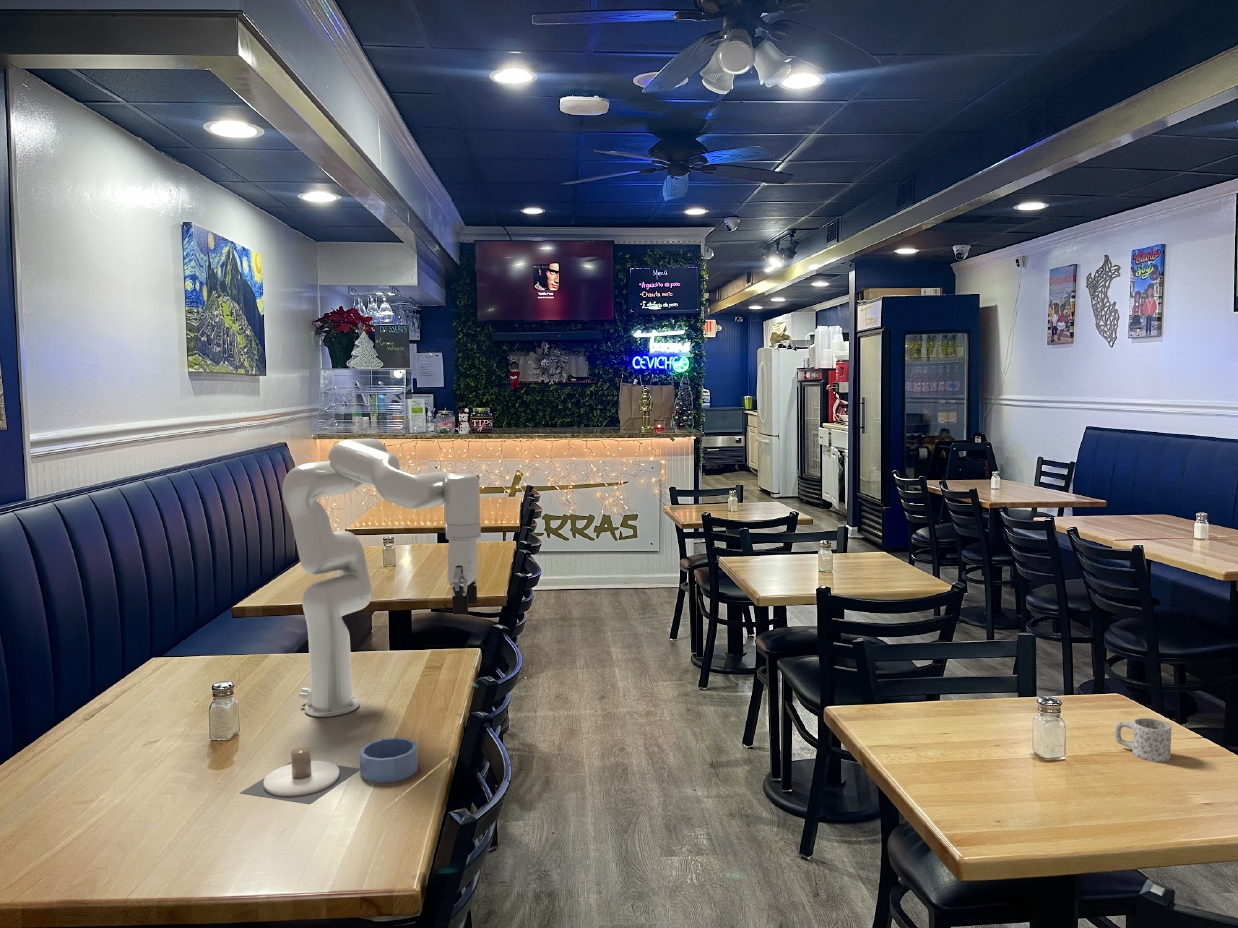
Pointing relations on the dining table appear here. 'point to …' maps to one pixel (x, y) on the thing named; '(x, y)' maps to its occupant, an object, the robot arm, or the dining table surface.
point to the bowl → (388, 760)
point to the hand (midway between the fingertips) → (465, 608)
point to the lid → (301, 775)
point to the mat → (307, 799)
